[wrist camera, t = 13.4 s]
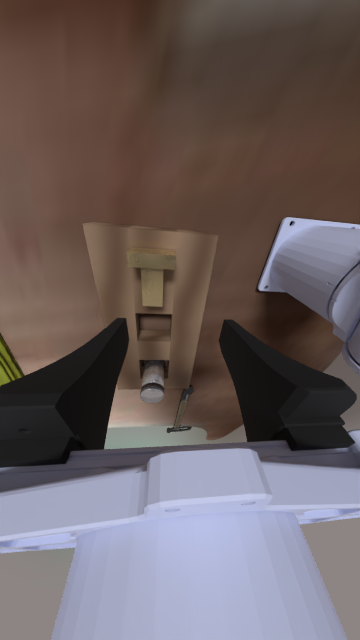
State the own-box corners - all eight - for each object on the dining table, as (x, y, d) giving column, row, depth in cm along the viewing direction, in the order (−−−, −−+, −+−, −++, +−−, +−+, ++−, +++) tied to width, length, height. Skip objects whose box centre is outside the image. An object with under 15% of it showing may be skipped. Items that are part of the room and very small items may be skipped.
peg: (162, 348, 26) (161, 387, 20) (166, 361, 28) (166, 401, 22) (143, 351, 26) (136, 391, 20) (148, 364, 28) (143, 404, 22)
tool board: (212, 232, 17) (218, 235, 15) (187, 376, 30) (189, 388, 28) (93, 222, 16) (82, 223, 14) (121, 376, 29) (118, 389, 27)
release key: (174, 250, 15) (175, 255, 14) (171, 299, 18) (172, 309, 17) (131, 247, 15) (126, 251, 13) (135, 297, 18) (131, 307, 16)
